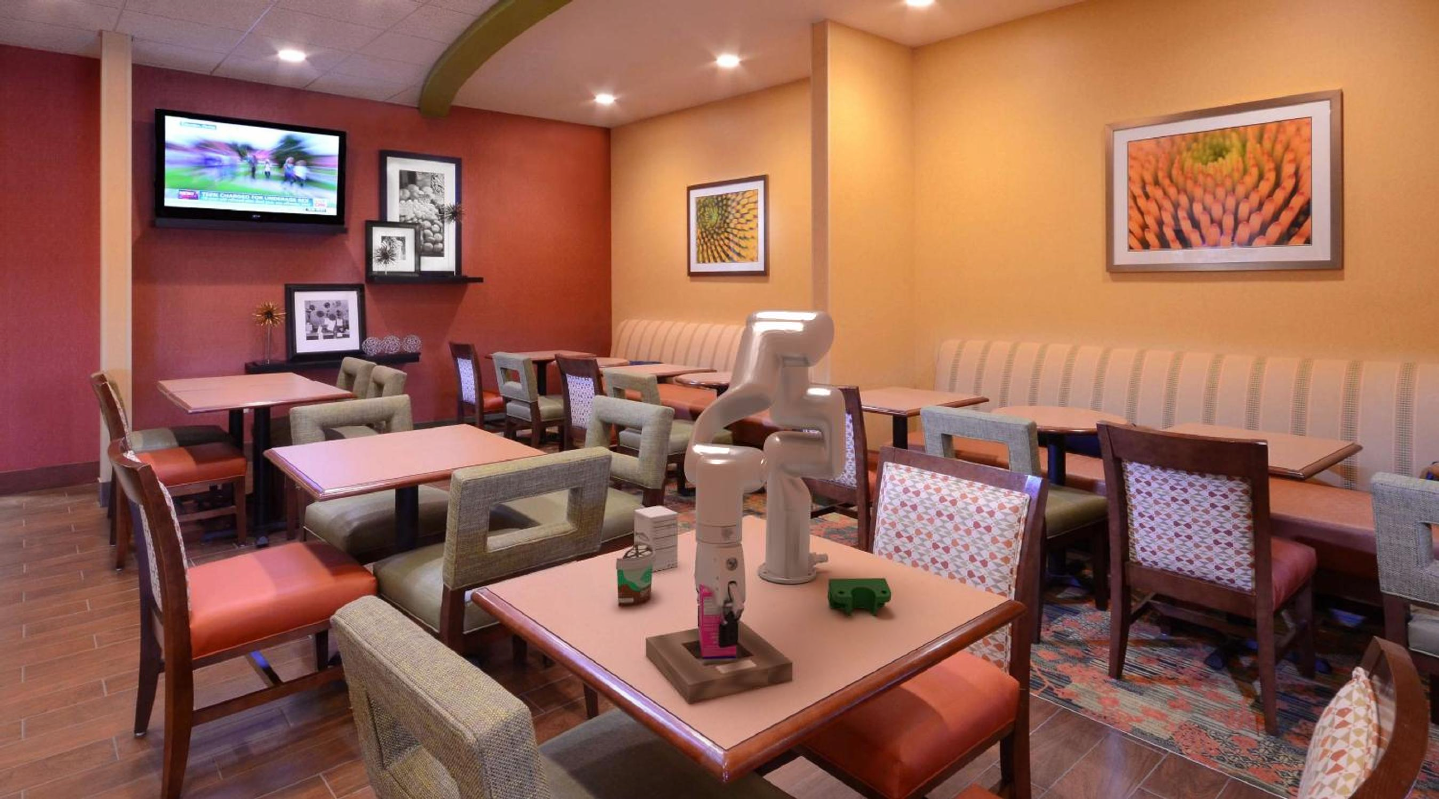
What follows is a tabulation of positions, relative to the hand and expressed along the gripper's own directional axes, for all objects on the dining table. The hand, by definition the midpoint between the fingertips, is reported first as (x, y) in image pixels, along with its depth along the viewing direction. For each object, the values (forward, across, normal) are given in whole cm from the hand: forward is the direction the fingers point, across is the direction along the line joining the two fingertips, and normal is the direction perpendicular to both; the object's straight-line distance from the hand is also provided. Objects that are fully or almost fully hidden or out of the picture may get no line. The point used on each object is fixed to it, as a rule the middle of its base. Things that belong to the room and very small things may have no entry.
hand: (717, 635), depth 132 cm
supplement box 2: (+3, 0, 0) cm, 3 cm away
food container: (+6, +33, +1) cm, 33 cm away
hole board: (+5, 0, 0) cm, 5 cm away
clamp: (+6, +10, -35) cm, 37 cm away
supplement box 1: (+6, +50, -9) cm, 51 cm away
